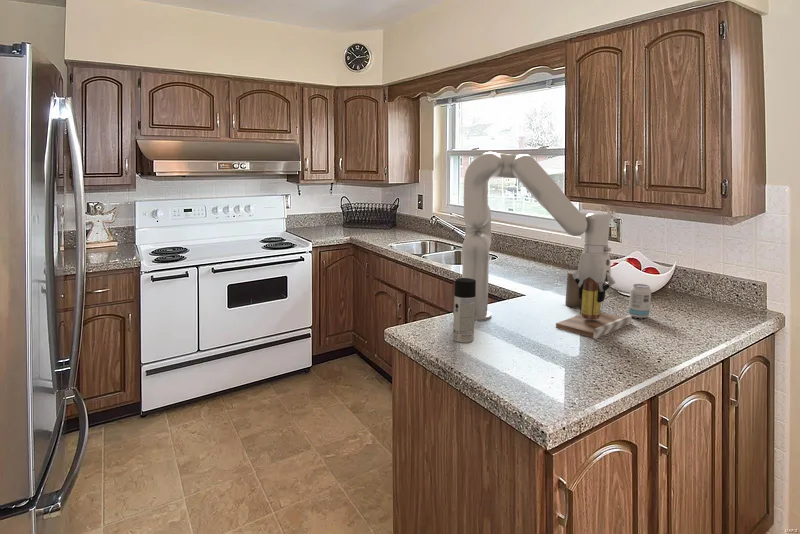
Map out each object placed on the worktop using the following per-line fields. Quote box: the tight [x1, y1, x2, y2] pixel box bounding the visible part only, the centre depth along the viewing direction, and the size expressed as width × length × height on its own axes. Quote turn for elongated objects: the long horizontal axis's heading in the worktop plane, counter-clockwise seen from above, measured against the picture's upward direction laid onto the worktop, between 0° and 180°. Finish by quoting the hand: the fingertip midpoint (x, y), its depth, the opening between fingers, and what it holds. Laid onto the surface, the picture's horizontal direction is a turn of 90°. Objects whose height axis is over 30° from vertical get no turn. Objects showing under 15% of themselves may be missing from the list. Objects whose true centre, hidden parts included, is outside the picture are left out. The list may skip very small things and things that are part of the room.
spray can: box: [452, 277, 476, 344], centre depth 159 cm, size 7×7×20 cm
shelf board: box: [555, 311, 633, 339], centre depth 175 cm, size 24×15×3 cm, turn 130°
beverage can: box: [627, 283, 652, 320], centre depth 184 cm, size 7×7×12 cm
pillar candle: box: [564, 269, 582, 310], centre depth 199 cm, size 10×10×15 cm
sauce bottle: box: [581, 277, 602, 320], centre depth 174 cm, size 6×6×20 cm
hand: (591, 299), depth 175 cm, fingers closed on sauce bottle, 6 cm apart
